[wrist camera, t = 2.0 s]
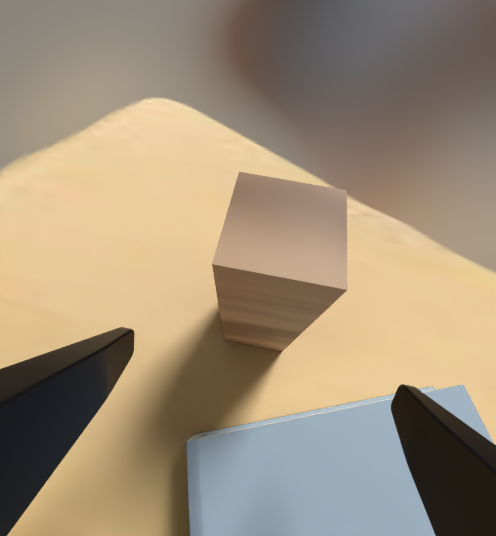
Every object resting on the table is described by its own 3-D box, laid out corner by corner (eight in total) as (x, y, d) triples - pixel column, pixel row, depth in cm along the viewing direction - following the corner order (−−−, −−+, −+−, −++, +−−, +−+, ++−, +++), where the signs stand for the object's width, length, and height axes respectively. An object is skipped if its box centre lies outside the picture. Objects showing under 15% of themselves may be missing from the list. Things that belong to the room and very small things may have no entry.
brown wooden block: (282, 351, 19) (347, 289, 8) (223, 339, 19) (212, 264, 8) (288, 296, 21) (346, 190, 10) (235, 286, 21) (239, 171, 10)
